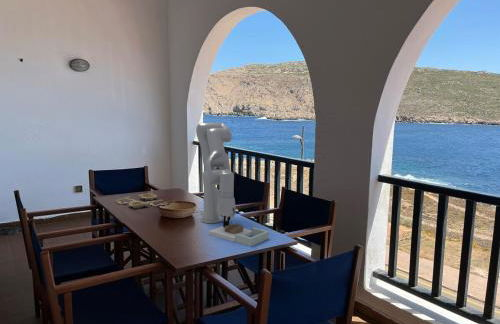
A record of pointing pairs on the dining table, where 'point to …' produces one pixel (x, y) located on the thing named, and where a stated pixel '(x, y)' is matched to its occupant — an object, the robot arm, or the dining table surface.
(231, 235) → the board
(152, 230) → the dining table surface
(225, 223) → the robot arm
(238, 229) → the brown round disc
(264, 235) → the box
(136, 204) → the tableware set
